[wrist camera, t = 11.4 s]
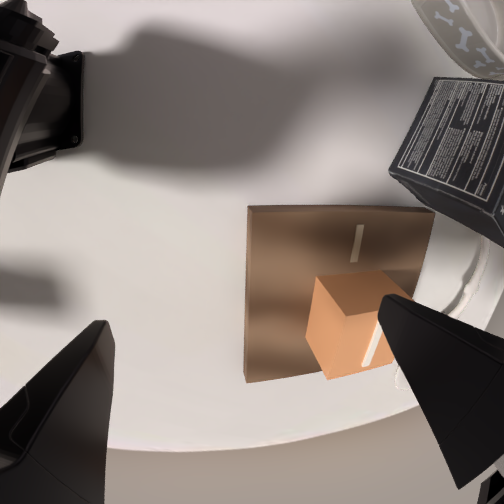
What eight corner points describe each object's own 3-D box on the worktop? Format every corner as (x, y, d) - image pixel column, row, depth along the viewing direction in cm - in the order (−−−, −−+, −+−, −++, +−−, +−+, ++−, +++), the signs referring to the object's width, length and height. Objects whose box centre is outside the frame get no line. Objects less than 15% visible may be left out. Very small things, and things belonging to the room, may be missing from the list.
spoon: (509, 163, 23) (530, 171, 20) (420, 373, 36) (431, 388, 33) (475, 137, 21) (501, 143, 18) (376, 383, 34) (388, 401, 30)
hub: (364, 327, 25) (393, 364, 21) (305, 337, 24) (328, 381, 19) (380, 270, 23) (418, 304, 18) (316, 276, 21) (347, 318, 17)
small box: (427, 209, 23) (514, 260, 14) (384, 171, 21) (489, 217, 11) (469, 120, 20) (558, 142, 11) (433, 74, 18) (535, 79, 8)
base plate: (247, 205, 20) (263, 229, 16) (424, 207, 23) (459, 225, 19) (243, 371, 26) (252, 408, 22) (384, 345, 30) (404, 371, 26)
